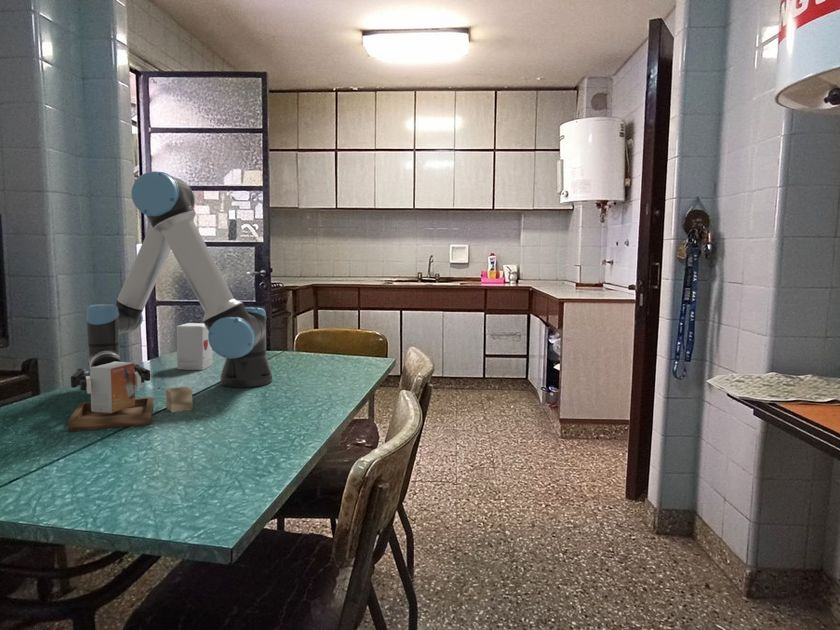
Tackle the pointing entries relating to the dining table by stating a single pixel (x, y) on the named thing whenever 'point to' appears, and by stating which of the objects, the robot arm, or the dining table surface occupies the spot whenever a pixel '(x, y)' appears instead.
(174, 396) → the beech block
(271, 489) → the dining table surface
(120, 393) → the small box
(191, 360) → the supplement box
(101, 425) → the tray
